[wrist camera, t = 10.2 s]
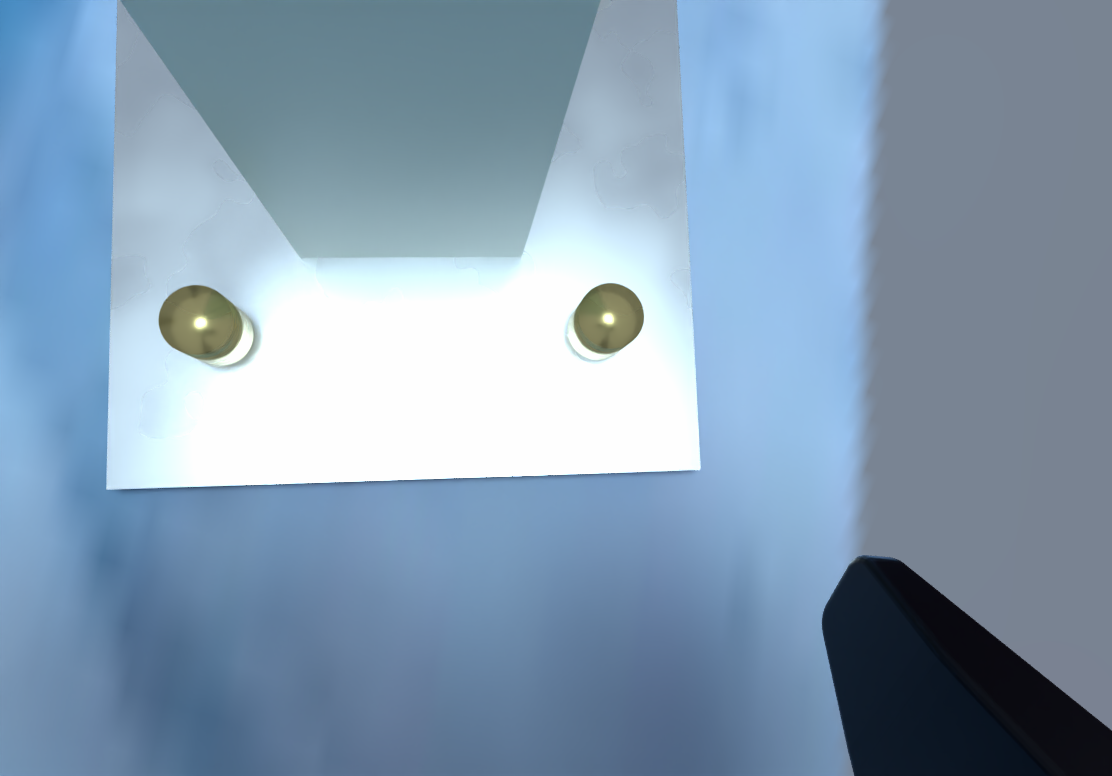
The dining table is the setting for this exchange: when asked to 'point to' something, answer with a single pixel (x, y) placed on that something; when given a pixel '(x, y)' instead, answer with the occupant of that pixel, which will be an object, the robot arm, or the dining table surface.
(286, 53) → the module
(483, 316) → the plate
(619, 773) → the dining table surface
